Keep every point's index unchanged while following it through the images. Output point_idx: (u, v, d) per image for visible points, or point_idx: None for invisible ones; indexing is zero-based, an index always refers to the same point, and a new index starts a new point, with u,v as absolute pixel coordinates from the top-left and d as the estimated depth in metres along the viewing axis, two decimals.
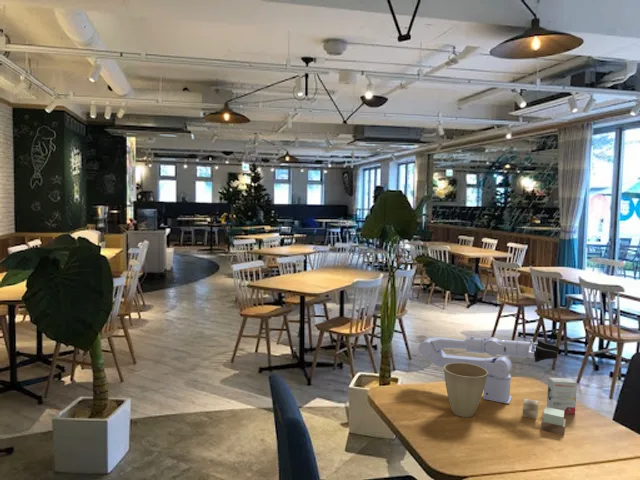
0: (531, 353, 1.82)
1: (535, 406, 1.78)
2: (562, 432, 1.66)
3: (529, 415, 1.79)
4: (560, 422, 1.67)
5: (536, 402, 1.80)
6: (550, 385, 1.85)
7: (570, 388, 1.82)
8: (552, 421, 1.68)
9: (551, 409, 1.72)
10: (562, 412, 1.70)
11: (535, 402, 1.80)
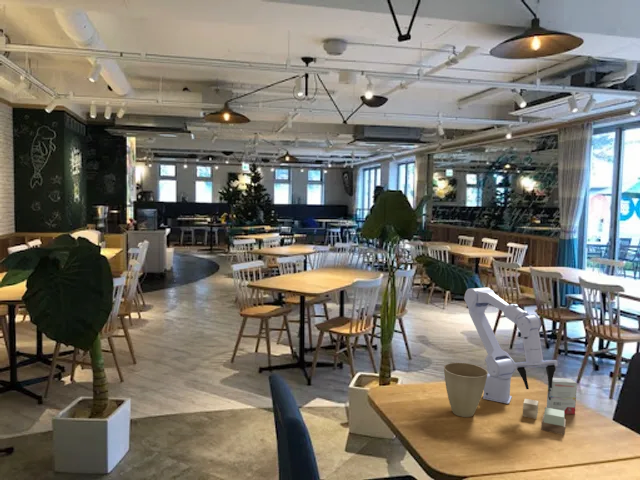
0: (514, 366, 1.82)
1: (535, 406, 1.78)
2: (562, 432, 1.66)
3: (529, 415, 1.79)
4: (560, 422, 1.67)
5: (536, 402, 1.80)
6: None
7: (570, 388, 1.82)
8: (553, 421, 1.68)
9: (551, 409, 1.72)
10: (562, 412, 1.70)
11: (535, 402, 1.80)
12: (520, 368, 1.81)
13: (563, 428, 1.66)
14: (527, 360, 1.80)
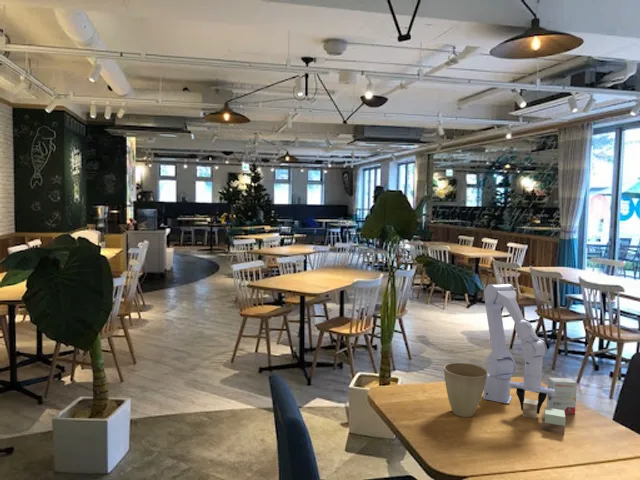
0: (509, 385, 1.83)
1: (535, 406, 1.78)
2: (562, 432, 1.67)
3: (529, 415, 1.79)
4: (562, 422, 1.67)
5: (536, 402, 1.80)
6: (550, 385, 1.85)
7: (570, 388, 1.82)
8: (554, 421, 1.68)
9: (551, 409, 1.72)
10: (562, 412, 1.70)
11: (535, 402, 1.80)
12: None
13: (563, 428, 1.66)
14: (524, 383, 1.80)
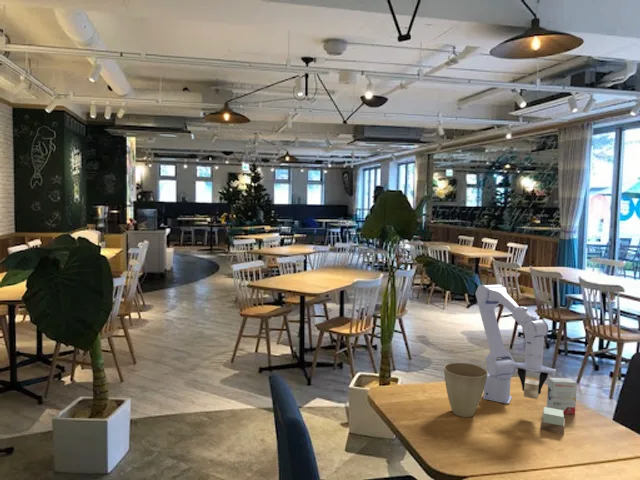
0: (511, 365, 1.82)
1: (536, 386, 1.77)
2: (562, 431, 1.67)
3: (530, 395, 1.78)
4: (560, 421, 1.67)
5: (537, 382, 1.79)
6: (550, 385, 1.85)
7: (570, 388, 1.82)
8: (552, 421, 1.68)
9: (550, 409, 1.73)
10: (561, 412, 1.71)
11: (536, 382, 1.79)
12: None
13: (562, 427, 1.67)
14: (525, 363, 1.79)
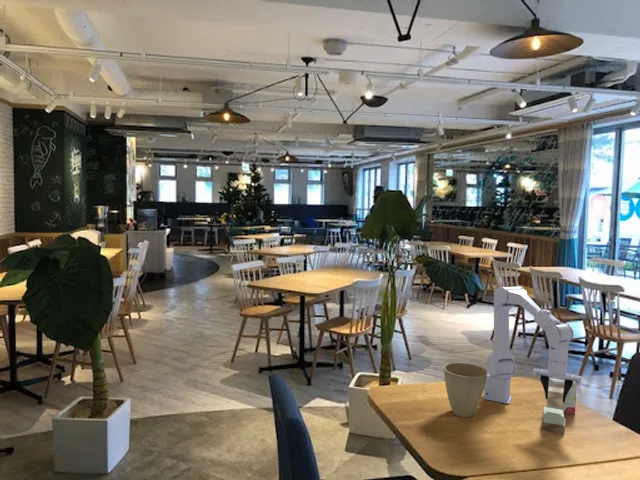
0: (533, 372, 1.72)
1: (561, 394, 1.67)
2: (562, 431, 1.67)
3: (554, 404, 1.68)
4: (560, 421, 1.67)
5: (561, 390, 1.69)
6: (550, 385, 1.85)
7: (570, 388, 1.82)
8: (553, 421, 1.68)
9: (550, 409, 1.73)
10: (561, 411, 1.71)
11: (560, 390, 1.69)
12: None
13: (563, 427, 1.67)
14: (548, 370, 1.69)
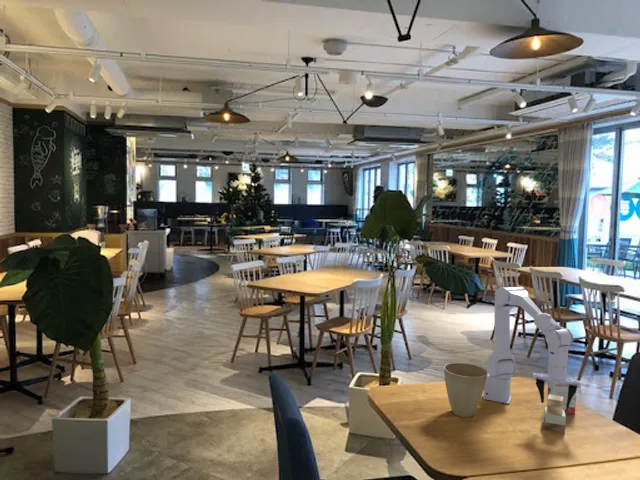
0: None
1: (560, 402, 1.67)
2: (563, 431, 1.67)
3: (554, 412, 1.68)
4: (562, 421, 1.67)
5: (561, 398, 1.69)
6: (549, 385, 1.85)
7: None
8: (554, 421, 1.68)
9: None
10: None
11: (560, 398, 1.69)
12: (539, 381, 1.71)
13: (563, 427, 1.67)
14: (548, 375, 1.70)
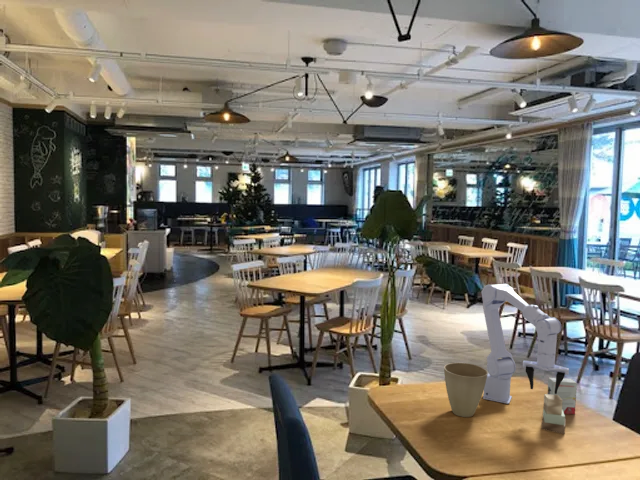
0: None
1: (560, 401, 1.68)
2: (562, 432, 1.67)
3: (554, 411, 1.69)
4: (561, 421, 1.68)
5: (558, 396, 1.71)
6: (550, 385, 1.85)
7: (570, 388, 1.82)
8: (553, 421, 1.69)
9: None
10: None
11: (557, 397, 1.71)
12: (528, 368, 1.78)
13: (563, 428, 1.67)
14: (537, 362, 1.76)
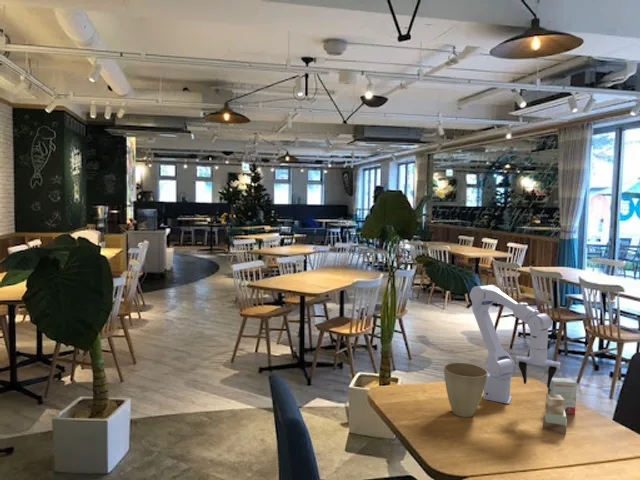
0: None
1: (562, 401, 1.68)
2: (564, 432, 1.67)
3: (556, 411, 1.69)
4: (563, 421, 1.68)
5: (560, 396, 1.71)
6: (550, 385, 1.85)
7: (570, 388, 1.82)
8: (555, 421, 1.68)
9: None
10: None
11: (559, 396, 1.71)
12: (521, 363, 1.83)
13: (564, 427, 1.67)
14: (530, 357, 1.81)
